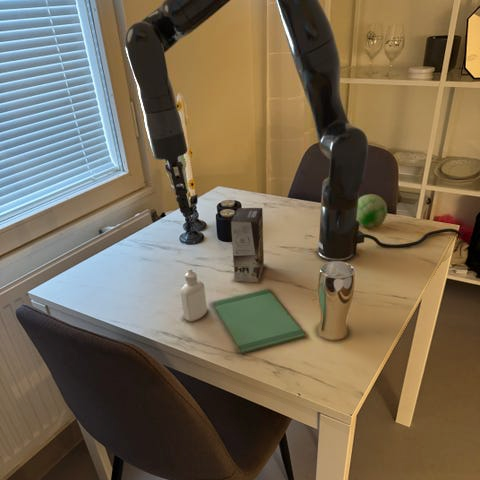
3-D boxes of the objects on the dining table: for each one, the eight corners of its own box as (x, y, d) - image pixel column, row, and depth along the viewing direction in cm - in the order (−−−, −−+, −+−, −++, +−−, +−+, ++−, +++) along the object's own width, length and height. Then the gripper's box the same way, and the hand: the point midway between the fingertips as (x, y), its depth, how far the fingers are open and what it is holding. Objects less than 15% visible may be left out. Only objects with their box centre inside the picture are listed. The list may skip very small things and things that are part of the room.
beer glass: (312, 323, 100) (315, 261, 91) (344, 320, 100) (350, 258, 91) (319, 343, 94) (323, 279, 85) (353, 339, 94) (360, 276, 86)
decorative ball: (370, 218, 143) (374, 186, 138) (391, 230, 136) (396, 197, 130) (344, 225, 140) (346, 193, 135) (364, 237, 133) (367, 204, 127)
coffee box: (259, 282, 115) (257, 222, 106) (233, 281, 116) (229, 221, 107) (264, 265, 122) (263, 207, 113) (241, 264, 123) (237, 206, 114)
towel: (268, 290, 112) (268, 288, 111) (304, 336, 96) (305, 334, 96) (213, 303, 108) (212, 301, 108) (241, 353, 93) (241, 351, 92)
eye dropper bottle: (210, 317, 103) (205, 270, 97) (186, 323, 102) (179, 276, 95) (205, 307, 107) (200, 261, 100) (181, 313, 106) (174, 267, 99)
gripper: (186, 133, 92) (203, 211, 101) (179, 124, 104) (195, 194, 113) (150, 141, 91) (170, 219, 100) (146, 131, 103) (165, 201, 112)
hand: (183, 206), depth 106 cm, fingers open, 8 cm apart
